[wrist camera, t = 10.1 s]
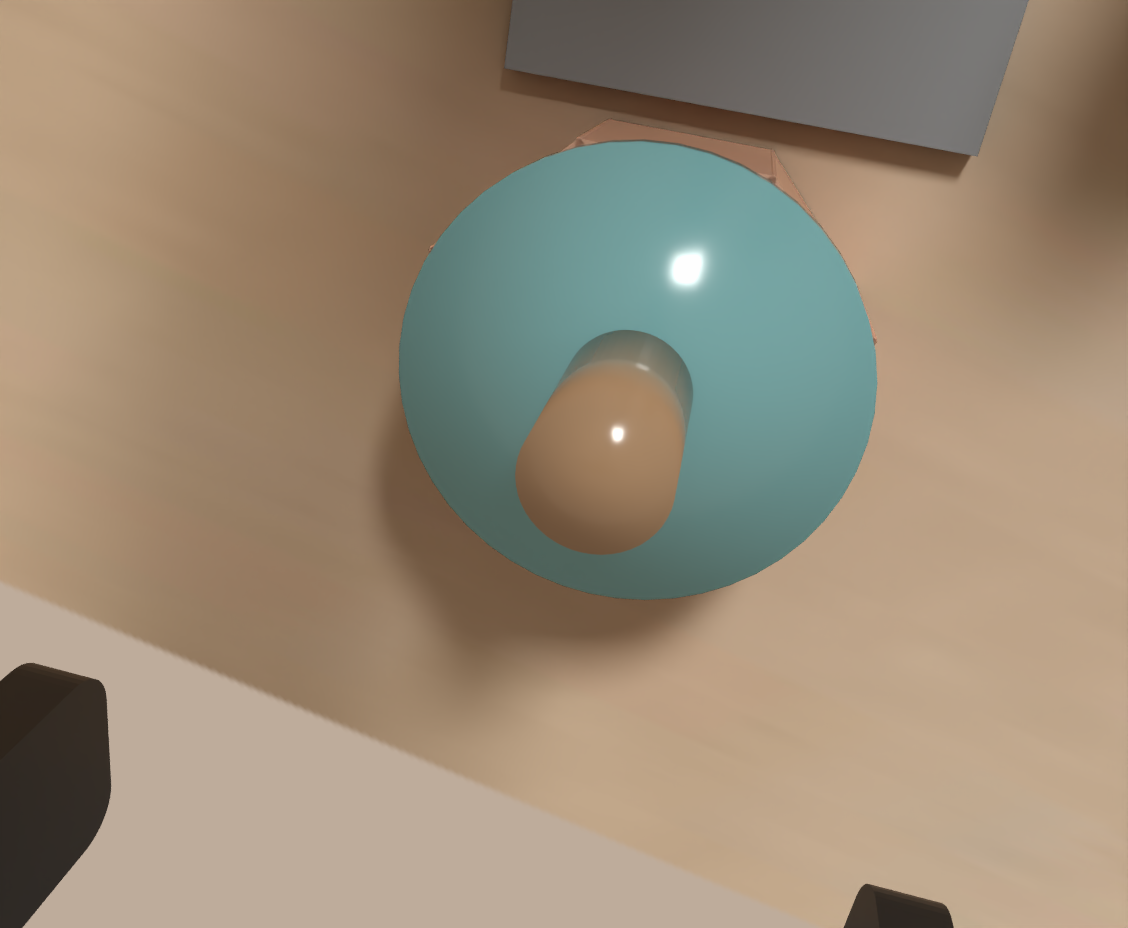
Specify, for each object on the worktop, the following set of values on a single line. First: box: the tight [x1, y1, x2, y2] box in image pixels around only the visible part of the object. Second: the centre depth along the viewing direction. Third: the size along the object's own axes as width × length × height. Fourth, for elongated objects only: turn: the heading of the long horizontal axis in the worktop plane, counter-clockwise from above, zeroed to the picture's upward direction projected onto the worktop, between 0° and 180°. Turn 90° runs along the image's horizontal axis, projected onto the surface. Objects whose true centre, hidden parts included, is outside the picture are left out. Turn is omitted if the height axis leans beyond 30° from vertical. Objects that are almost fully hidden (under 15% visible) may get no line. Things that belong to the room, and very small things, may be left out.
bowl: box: [429, 118, 877, 347], centre depth 26 cm, size 10×10×5 cm
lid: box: [399, 139, 877, 600], centre depth 21 cm, size 11×11×6 cm
